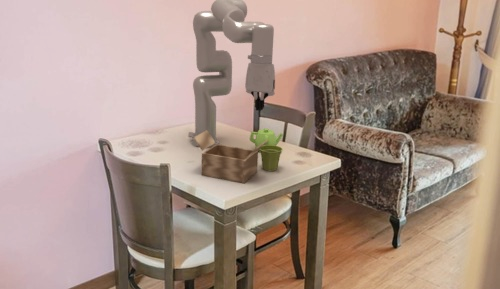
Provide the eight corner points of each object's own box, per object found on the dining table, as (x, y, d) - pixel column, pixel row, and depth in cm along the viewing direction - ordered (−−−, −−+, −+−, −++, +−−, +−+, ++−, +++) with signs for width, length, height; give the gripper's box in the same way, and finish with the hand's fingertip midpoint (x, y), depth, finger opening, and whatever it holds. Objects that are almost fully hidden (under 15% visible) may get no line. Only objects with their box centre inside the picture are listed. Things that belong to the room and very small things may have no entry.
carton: (201, 175, 190) (201, 153, 187) (216, 165, 201) (216, 144, 198) (244, 183, 183) (245, 160, 181) (257, 172, 195) (258, 150, 192)
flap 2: (257, 149, 191) (258, 150, 191) (246, 157, 181) (247, 158, 181) (267, 139, 188) (267, 140, 188) (256, 147, 179) (257, 148, 179)
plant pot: (257, 164, 204) (258, 144, 201) (279, 164, 204) (280, 144, 202) (259, 172, 195) (260, 152, 192) (283, 172, 196) (284, 152, 193)
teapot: (265, 155, 215) (267, 134, 212) (247, 149, 222) (248, 128, 219) (283, 150, 223) (284, 129, 220) (264, 144, 230) (265, 124, 227)
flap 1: (203, 150, 188) (202, 150, 188) (215, 142, 197) (214, 143, 197) (194, 137, 188) (193, 137, 188) (207, 130, 197) (206, 130, 197)
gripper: (238, 59, 174) (236, 109, 180) (278, 63, 169) (275, 114, 175) (246, 56, 181) (244, 105, 186) (284, 60, 176) (281, 110, 181)
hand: (259, 109), depth 180 cm, fingers closed
